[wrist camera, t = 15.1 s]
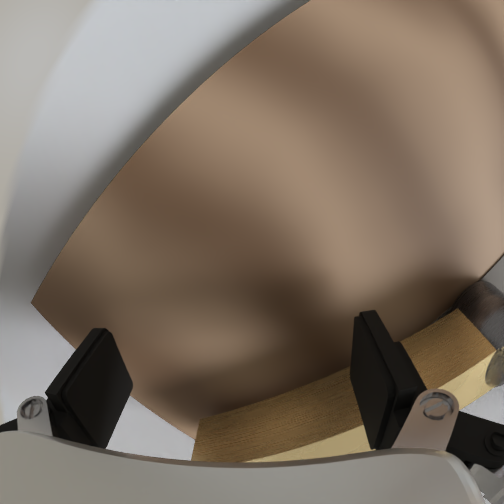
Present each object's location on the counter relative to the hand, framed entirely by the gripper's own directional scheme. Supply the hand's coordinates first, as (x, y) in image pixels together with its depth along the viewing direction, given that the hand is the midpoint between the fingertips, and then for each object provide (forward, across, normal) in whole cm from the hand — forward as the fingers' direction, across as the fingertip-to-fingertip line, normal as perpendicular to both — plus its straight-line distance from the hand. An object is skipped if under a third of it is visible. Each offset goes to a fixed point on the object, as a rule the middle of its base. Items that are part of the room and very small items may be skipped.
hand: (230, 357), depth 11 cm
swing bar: (+1, -5, +3) cm, 6 cm away
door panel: (+3, -7, -4) cm, 9 cm away
